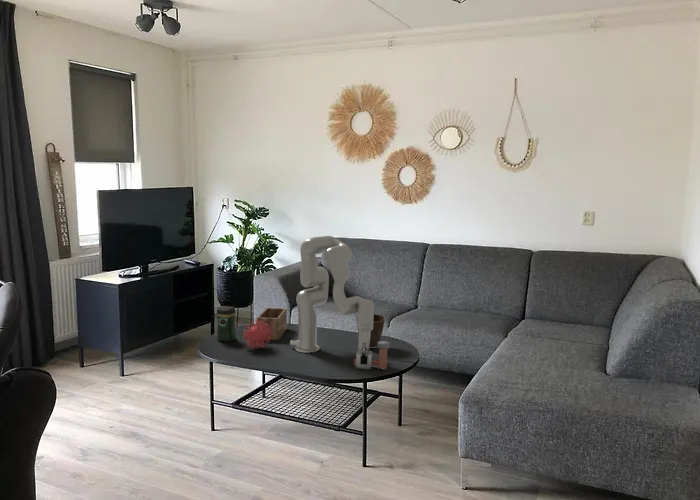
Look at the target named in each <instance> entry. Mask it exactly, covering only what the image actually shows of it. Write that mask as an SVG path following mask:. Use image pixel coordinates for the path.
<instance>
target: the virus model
mask: <svg viewBox="0 0 700 500" xmlns="http://www.w3.org/2000/svg"><path fill="white" fill-rule="evenodd" d="M257 321H258V320H257V319H255V321H254V320H252V321H250V323H251V324H250V325H248V324H247V325H245V326H244V327H245V328H247V329H245V328H244V329H243V332H242V333H243V334H242V338H243V341H244V342H245V344H246V346H248V347H249V348H251V349H254V350H256V349H259V348H261V349H263V348H265V347H266V346H268V344H269V343H270V341H271V340H270V339H269V338H270V337H269V336H272V334H270V333H272V331H270V326H269V325H268V324H267V323H266V324H265V323H264V322H263V321H261V322H257ZM262 322H263V324H265V325H266V326H268V327H269V328H268V327H267V328H266V326H265V325H262V326H261V323H262ZM257 323H260V324H258V325H257ZM264 326H265V327H264ZM267 329H268V330H269V331H270V333H269V332H268V330H267ZM267 336H268V337H267ZM266 337H267V339H269V340H267V339H265V338H266Z"/></svg>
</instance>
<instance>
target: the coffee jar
mask: <svg viewBox="0 0 700 500" xmlns="http://www.w3.org/2000/svg"><path fill="white" fill-rule="evenodd" d="M235 316H236V308H235V306H228V305H226V306H225V305H220V306H218V307H217V309H216V317H217V333H216V334H217V335H216V336H217V338H216V339H217V341H220V342H234V341H235V340H236V339H237V331H236V325H235V323H236V322H235Z"/></svg>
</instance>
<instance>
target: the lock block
mask: <svg viewBox="0 0 700 500" xmlns="http://www.w3.org/2000/svg"><path fill="white" fill-rule="evenodd" d="M360 356H361V350H360V351H359V350H357V351H356V358H357V360H356V367H371V360H372V359H373V350H369V351H367V365H364V364H360ZM356 367H355V368H356Z"/></svg>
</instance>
